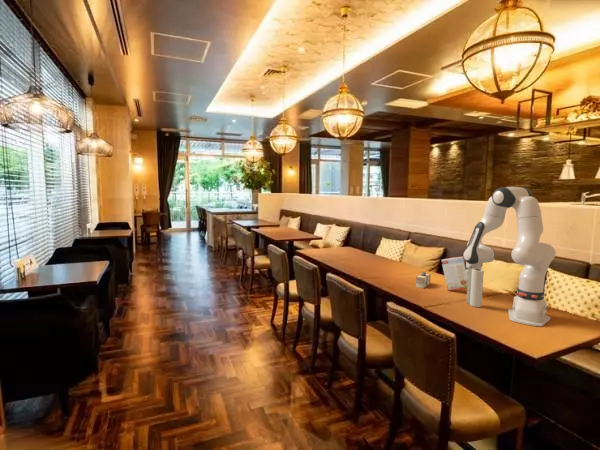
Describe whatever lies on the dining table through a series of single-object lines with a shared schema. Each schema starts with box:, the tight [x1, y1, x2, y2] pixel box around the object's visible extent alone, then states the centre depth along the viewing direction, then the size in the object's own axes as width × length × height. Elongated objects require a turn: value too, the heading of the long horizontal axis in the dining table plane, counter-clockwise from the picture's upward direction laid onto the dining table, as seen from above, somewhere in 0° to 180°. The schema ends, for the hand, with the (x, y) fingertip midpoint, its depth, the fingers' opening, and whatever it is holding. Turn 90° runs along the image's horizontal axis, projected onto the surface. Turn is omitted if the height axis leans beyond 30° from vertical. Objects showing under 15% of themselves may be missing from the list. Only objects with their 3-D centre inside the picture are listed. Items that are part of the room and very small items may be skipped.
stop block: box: [415, 271, 432, 289], centre depth 239 cm, size 14×5×9 cm, turn 141°
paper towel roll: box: [465, 268, 485, 308], centre depth 199 cm, size 7×6×21 cm
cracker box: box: [440, 256, 468, 292], centre depth 226 cm, size 14×6×21 cm, turn 49°
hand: (472, 286), depth 221 cm, fingers closed, pressing on cracker box
